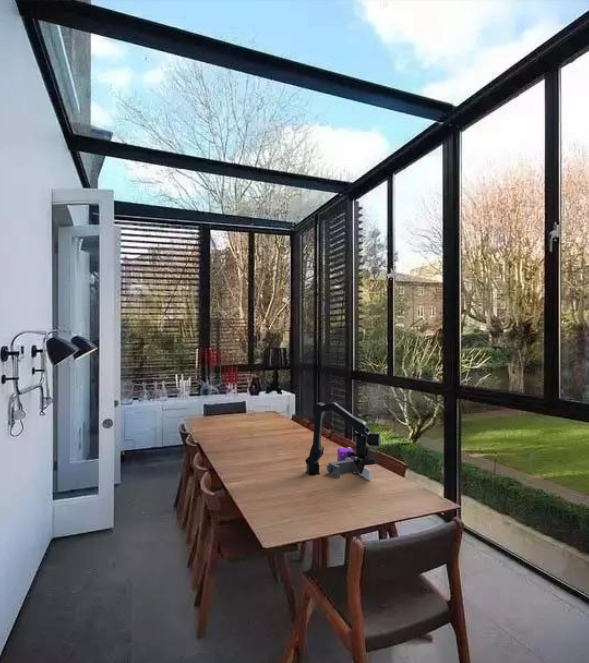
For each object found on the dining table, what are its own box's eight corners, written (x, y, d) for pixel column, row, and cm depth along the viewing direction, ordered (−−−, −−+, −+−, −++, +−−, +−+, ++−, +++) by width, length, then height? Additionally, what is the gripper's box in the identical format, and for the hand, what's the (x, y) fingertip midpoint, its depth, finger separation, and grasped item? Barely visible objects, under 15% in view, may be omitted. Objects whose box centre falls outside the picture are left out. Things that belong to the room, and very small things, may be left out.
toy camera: (342, 470, 246) (342, 452, 246) (334, 463, 259) (334, 446, 259) (359, 468, 249) (359, 451, 249) (350, 462, 262) (350, 445, 262)
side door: (371, 479, 228) (371, 470, 228) (369, 480, 227) (369, 470, 227) (360, 473, 238) (360, 464, 238) (358, 473, 238) (358, 464, 238)
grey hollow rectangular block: (335, 478, 231) (335, 467, 231) (326, 473, 239) (326, 462, 239) (361, 473, 239) (361, 463, 239) (352, 469, 247) (352, 459, 247)
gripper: (383, 447, 225) (383, 476, 224) (362, 439, 241) (362, 466, 241) (366, 449, 220) (366, 479, 219) (346, 441, 236) (346, 469, 236)
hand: (360, 473), depth 229 cm, fingers closed
